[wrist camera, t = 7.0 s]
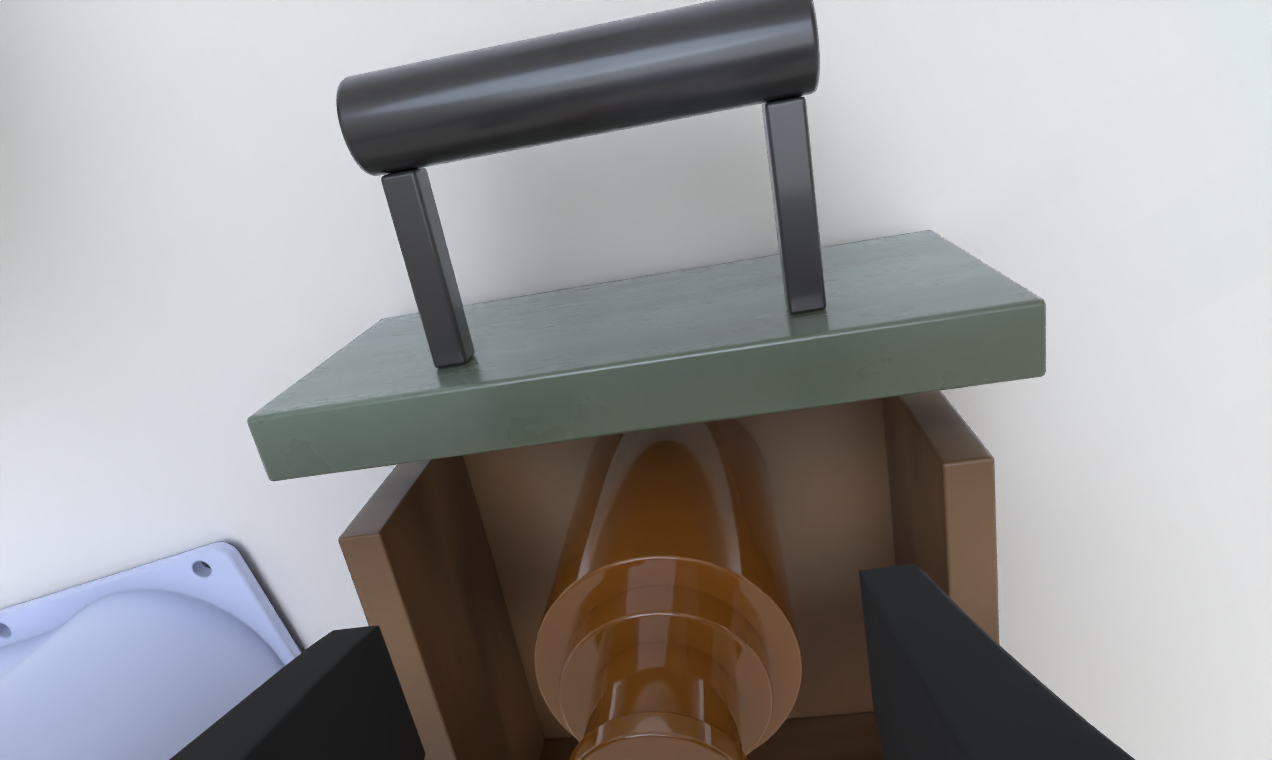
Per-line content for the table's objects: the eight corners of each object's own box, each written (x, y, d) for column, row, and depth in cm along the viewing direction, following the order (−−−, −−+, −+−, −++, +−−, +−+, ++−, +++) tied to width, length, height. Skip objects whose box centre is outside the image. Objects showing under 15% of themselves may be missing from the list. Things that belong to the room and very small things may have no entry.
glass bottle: (622, 583, 19) (567, 948, 11) (556, 433, 17) (439, 722, 10) (791, 538, 18) (866, 894, 10) (736, 376, 17) (771, 641, 9)
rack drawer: (314, 104, 16) (125, 113, 11) (919, -19, 15) (1047, -81, 9) (506, 734, 22) (445, 943, 17) (955, 695, 21) (1048, 914, 15)
